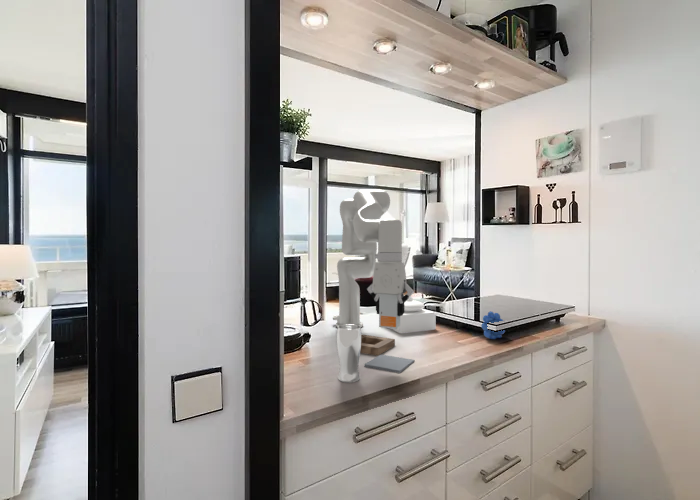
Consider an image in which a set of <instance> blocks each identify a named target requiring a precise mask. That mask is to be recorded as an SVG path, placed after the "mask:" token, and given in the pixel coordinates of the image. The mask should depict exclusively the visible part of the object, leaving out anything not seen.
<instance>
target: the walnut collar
mask: <svg viewBox="0 0 700 500" xmlns="http://www.w3.org/2000/svg"><path fill="white" fill-rule="evenodd" d="M395 344H396V339H395V338H389V337H383V336H382V337H381V336H377V335H376V336H374V335H368V334H361V351H360V354H365V355H372V356H376V357H377V356H379V355H381V354H382V355H383V353H385V352H387V351H388V350H390V349H392V348H394V347H395V346H396V345H395Z"/></svg>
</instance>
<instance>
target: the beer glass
mask: <svg viewBox="0 0 700 500" xmlns="http://www.w3.org/2000/svg"><path fill="white" fill-rule="evenodd" d="M361 328H362V327H360V326H359V325H354V324H344V325H339V326H338V327H337V332H336V333H337V334H336V348H337V349H336V350H337V355H338V360H339V361H338V362H339V373H338V380H339V381H340V382H341V383H349V384H350V383H351V384H352V383H356V382H358V381H360V379H361V378H360V371H359V362H360V356H361V353H360V351H361V335H362V330H361Z"/></svg>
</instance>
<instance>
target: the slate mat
mask: <svg viewBox="0 0 700 500" xmlns="http://www.w3.org/2000/svg"><path fill="white" fill-rule="evenodd" d="M413 363H415V359H412V358H405V357H400V356H393V355H387V354H383V353H382V354H380V355H379V356H377V355H376V356H375V357H374V358H373V359H370V360H369V361H368V362H365V363H363V364H364V365H363V366H364V368H368V369H376V370H380V371H386V372H390V373H391V372H392V373H397V374H401V373H402V372H403V371H404V370H406V369H407V368H409V367H410V366H411V365H412V364H413Z"/></svg>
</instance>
